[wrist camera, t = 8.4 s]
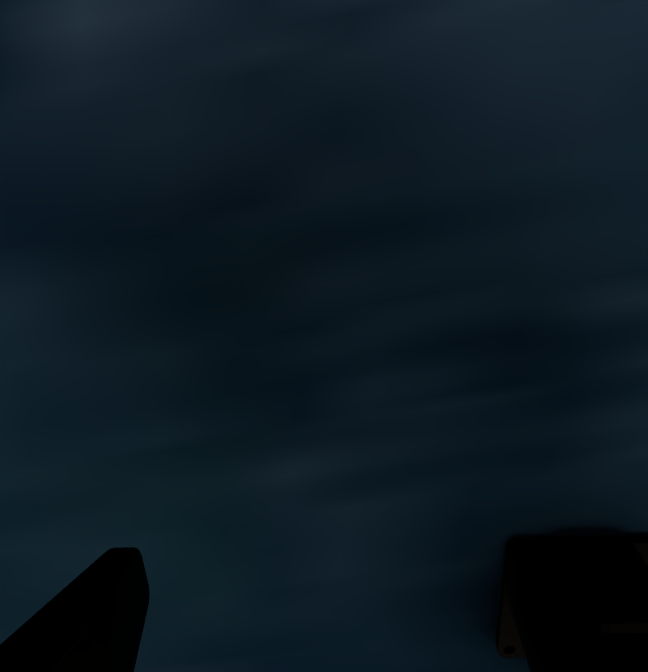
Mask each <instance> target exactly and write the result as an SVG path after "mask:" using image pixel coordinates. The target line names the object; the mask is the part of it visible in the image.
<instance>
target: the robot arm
mask: <svg viewBox="0 0 648 672" xmlns="http://www.w3.org/2000/svg"><path fill="white" fill-rule="evenodd" d="M518 550H522V551H521V552H517V551H518ZM148 604H149V585H148V581H147V576H146V572H145V568H144V564H143V559H142V555H141V553H140V551H139V549H137V548H134V547H124V548H111V549H109V550H108V551H106V552H105V553H104V554H103V555H102V556H100V557H99V558H98V559H97V560H96V561H95V562H94V563H92V564H91V565H90V566H89V567H88V568H87V569H86V570H84V571H83V572H82V573H81V574H80V575H79V576H78V577H77V578H75V579H74V580H73V581H72V582H71V583H70V584H69V585H67V586H66V587H65V588H64V589H63V590H62V591H61V592H60V593H58V594H57V595H56V596H55V597H54V598H53V599H52V600H50V601H49V602H48V603H47V604H46V605H45V606H44V607H42V608H41V609H40V610H39V611H38V612H37V613H36V614H35V615H33V616H32V617H31V618H30V619H29V620H28V621H27V622H25V623H24V624H23V625H22V626H21V627H20V628H19V629H17V630H16V631H15V632H14V633H13V634H12V635H11V636H10V637H8V638H7V639H6V640H5V641H4V642H3V643H2V644H0V672H134V668H135V664H136V659H137V654H138V650H139V645H140V641H141V636H142V632H143V627H144V623H145V618H146V614H147V609H148ZM496 646H497V650H498V653H499V654H500V655H501V656H503V657H507V658H526V659H527V662H528V665H529V668H530V672H648V536H602V537H539V538H515V539H513V540H511V541H509V542H508V543H507V545H506V549H505V558H504V568H503V577H502V587H501V596H500V606H499V615H498V625H497V634H496Z"/></svg>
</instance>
